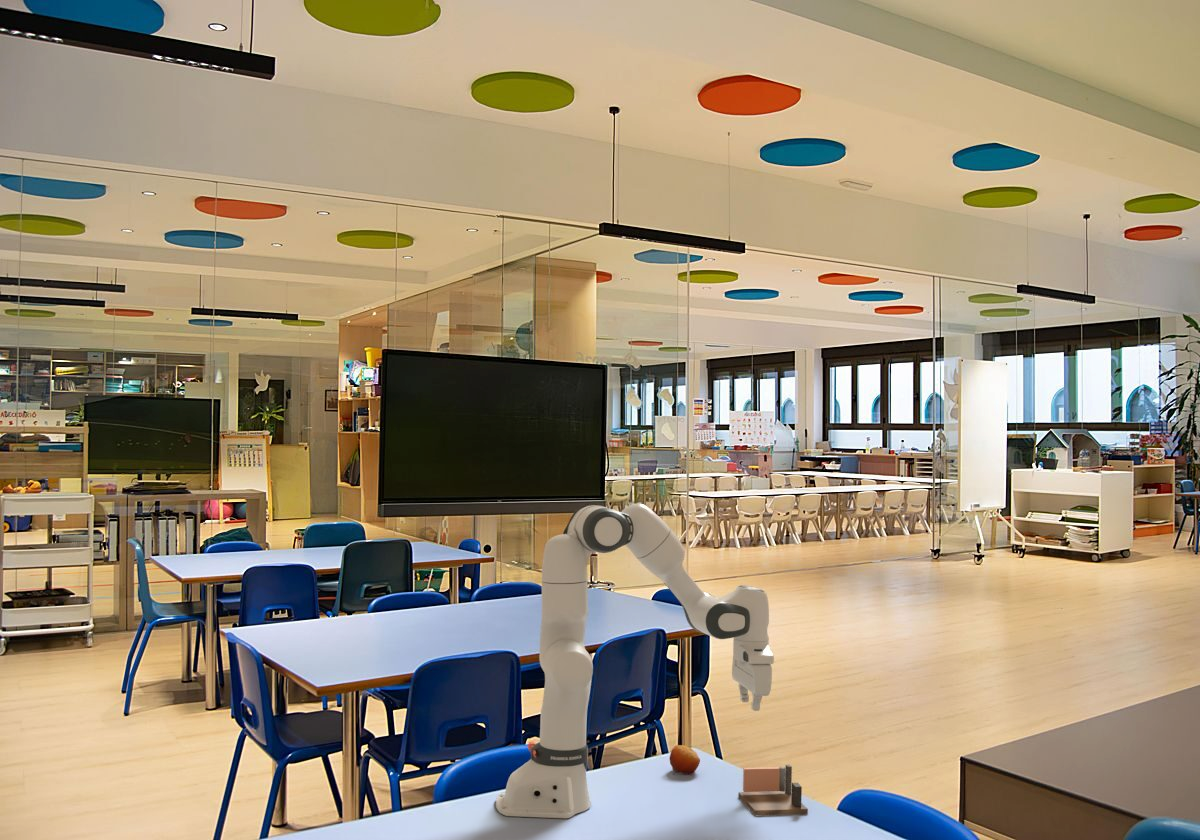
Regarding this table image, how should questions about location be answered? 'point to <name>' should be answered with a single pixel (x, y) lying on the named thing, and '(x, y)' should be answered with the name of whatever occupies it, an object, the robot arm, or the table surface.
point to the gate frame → (776, 799)
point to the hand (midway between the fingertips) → (749, 705)
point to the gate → (764, 779)
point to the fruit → (684, 760)
